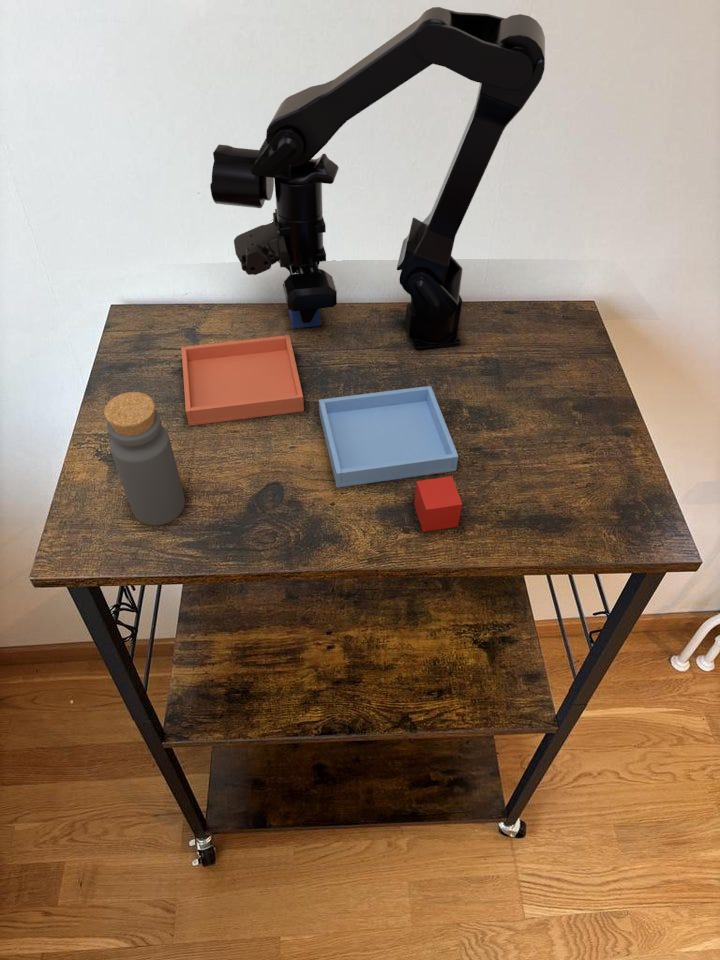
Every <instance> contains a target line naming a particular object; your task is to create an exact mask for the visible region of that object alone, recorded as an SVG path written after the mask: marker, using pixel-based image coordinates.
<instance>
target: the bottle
mask: <svg viewBox="0 0 720 960" xmlns="http://www.w3.org/2000/svg"><path fill="white" fill-rule="evenodd" d="M103 411H104V412H103V413H104V417H105V419H106V420H107V423H106V429H107V432H108V435H109V437H110V440H109V449H110V453H111V455H112V460H113V462H114V465H115V468H116V470H117V473H118V476H119V479H120V482H121V484H122V485H121V486H122V487H123V490H124V493H125V496H126V499H127V501H128V504H129V507H130V510H131V512H132V515H133V516H134V518H135V519H136V520H137V521H138V522H140V523H141V524H144V525H147V526H154V527H156V526H163V525H166V524H169V523H171V522H172V521H175V520H176V519H177V518H178V517H179V516H180V515H181V514H182V512H183V510H184V509H185V505H186V498H185V493H184V489H183V485H182V481H181V477H180V473H179V470H178V465H177V462H176V457H175V454H174V450H173V446H172V442H171V439H170V437H169V433H168V430H167V428H166V427H164V426H163V425H162V418H161V415H160V413H159V412H158V410H157V409H156V405H155V402H154V400H153V399H152V397H150V395H148V394H146V393H144V392H139V391H128V392H124V393H120V394H118V395H116V396H114V397H112V398H111V399H110V400H109V401H108V402H107V403H106V405H105V407H104V410H103Z"/></svg>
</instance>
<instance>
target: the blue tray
mask: <svg viewBox="0 0 720 960" xmlns="http://www.w3.org/2000/svg"><path fill="white" fill-rule="evenodd" d="M318 412H319V413H318V414H319V419H320V424H321V427H322V431H323V435H324V436H323V437H324V440H325V444H326V448H327V452H328V458H329V460H330V465H331V470H332V473H333V477H334V482H335V487H336V488H344V487H351V486H359V485H366V484H372V483H381V482H388V481H395V480H401V479H409V478H415V477H422V476H429V475H436V474H442V473H443V474H444V473H450V472H456V471H457V467H458V462H459V454H458V452H457V449H456V447H455V444H454V441H453V438H452V436H451V433H450V431H449V429H448V426H447V423H446V421H445V418H444V416H443V413H442V411H441V408H440V405H439V402H438V400H437V398H436V395H435V392H434V389H433V388H432V385H426V386H417V387H410V388H402V389H395V390H394V389H393V390H385V391H377V392H370V393H369V392H368V393H361V394H353V395H345V396H338V397H330V398H329V397H328V398H322V399H318Z"/></svg>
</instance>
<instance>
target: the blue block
mask: <svg viewBox="0 0 720 960" xmlns="http://www.w3.org/2000/svg"><path fill="white" fill-rule="evenodd" d="M288 315H289V319H290V325H291V328H292V329H303V328H311V327H320V326H321V325H322V322H321V321H322V320H321V319H322V318H321V317H322V316H321V309H318V310H317V312H316V313H315V315H314V317H313V319H312V321H311V322H309V323H303V321H302V318H301V314H300V311H291V310H289V309H288Z"/></svg>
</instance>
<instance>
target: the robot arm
mask: <svg viewBox="0 0 720 960" xmlns="http://www.w3.org/2000/svg"><path fill="white" fill-rule="evenodd" d="M545 37H546V36H545V34H544V31H543V27H542V26H541V25H540V23H539V22H538V21H537V20H536V19H535V18H533V17H532V16H530V15H526V14H522V13H519V14H512V15H509V16H508V17H501V16H497V15H494V14H490V13H481V12H465V11H464V12H462V11H455V10H452V9H447V8H444V7H441V6H434V7H430V8H429V9H426V10H425V11H423V13H422V14H421V16H420V17H419V18H418V19H417V20H415V21H414V22H413V23H411V24H410V25H408V26H406V27H405V28H404V29H402V30H401V31H400V32H398V33H397V34H396V35H395V36H393V37H391V38H390V39H389V40H387V41H385V43H383V44H381V45H380V46H378V47H377V48H376V49H374V50H373V51H372V52H371V53H369V54H368V55H366V56H365V57H363V58H362V59H361V60H359V61H358V62H356V63H355V64H354V65H352V66H351V67H349V68H348V69H346V70H345V71H343V73H341V74H340V75H338V76H337V77H335V78H333V79H332V80H330V81H327V82H325V83H321V84H316V85H312V86H309V87H307V88H305V89H302V90H300V91H298V92H295V93H294V94H291V95H289V96H288V97H286V98H285V99H284V100H283V101H282V102H281V103H280V104H279V106H278V108H277V110H276V112H275V114H274V115H273V117H272V119H271V121H270V122H269V124H268V125H267V128H266V133H265V138H264V141H263V143H262V144H261V146H260V148H259V149H251V148H243V147H234V146H231V145H228V144H218V145H217V146H216V148H214V151H213V152H212V156H213V163H212V164H213V165H212V169H211V170H212V171H211V182H210V184H209V185H210V194H211V199H212V200H213V202H214V203H215V204H216V205H226V206H233V207H234V206H235V207H243V208H244V207H245V208H253V209H254V208H255V209H262V208H263V206H264V205H265V201H271V199H272V198H273V194H275V206H276V207H275V209H274V212H272V220H273V222H272V223H270V222H269V223H267V224H262V225H258V226H256V227H254V228H252V229H249V230H247V231H244V232H242V233H239V234H238V235H237V236H235V238H234V239H233V245H234V251H235V255H236V257H237V259H238V261H239V262H240V267H241V270H242V271H243V272H245V274H247V275H248V276H250V275H253V276H257V275H259V274H261V273H264V272H266V271H269V270H271V268H272V265H274V264H276V263H279V267H280V268H285V269H286V270H287V271H288V272H289V275H288V276H287V277H286V279H284V280H283V283H282V287H283V291H284V297H285V301H286V307H287V310H288V311H289V310H291V311H300V314H301V318H302V321H303V323H309V322H311V321H312V319H313V317H314V315H315V313H316V312H317V310H318V309H320V310H321V309H331V308H334V307H335V306H337V304H338V300H337V299H338V297H337V295H338V294H337V293H338V291H337V288H336V285H335V281H334V277H333V276H332V275H331V274H329V273H328V272H327V271H325V270H324V269H322V268H319V266H320V263H321V262H327V252H326V249H325V246H324V233H326V222H325V219H324V216H323V213H324V212H323V184H325V185H326V184H327V185H332V184H334V182H335V179H336V176H337V174H338V171H339V169H340V168H339V166H338V164H336V163H335V162H334V161H333V160H331V159H330V158H329V157H328V155H327V154H326V153H322V154H321V155H320V156H319V157H317V158H314V157H315V156H316V155H317V154H318V153H319V152H320V151H321V150H322V149H323V148H324V147H325V146H326V145H327V144H328V142H330V140H331V139H332V138H333V137H334V136H335V135H336V134H337V132H338V131H339V130H340V129H341V128H342V127H343V126H344V125H345V124H346V123H347V122H348V121H349V120H351V119H352V118H354V117H355V116H357V115H358V114H360V113H361V112H363V111H365V110H366V109H367V108H369V107H370V106H372V105H373V104H375V103H376V102H378V101H379V100H381V99H382V98H384V97H386V96H387V95H388V94H390V93H391V92H393V91H395V90H397V88H399V87H400V86H402V85H403V84H405V83H406V82H408V81H409V80H411V79H412V78H414V77H416V76H417V75H418V74H420V73H422V71H424V70H426V69H427V68H429V67H430V66H432V65H435V66H440V67H444V68H446V69H448V70H450V71H451V72H454V73H455V74H458V75H460V76H462V77H463V78H466V79H467V80H469V81H473V82H475V83H479V86H478V91H477V94H476V99H475V104H474V107H473V109H472V111H471V114H470V117H469V119H468V120H467V124H466V126H465V129H464V131H463V134H462V136H461V139H460V141H459V143H458V144H457V148H456V150H455V152H454V155H453V157H452V160H451V162H450V164H449V167H448V170H447V172H446V174H445V176H444V179H443V182H442V184H441V187H440V189H439V192H438V194H437V196H436V200H434V204H433V206H432V208H431V210H430V212H429V214H428V215H427V216H426V217H425V219H424V220H423V221H421V220H419V219H418V218H416V217H412V220H411V224H410V229H409V232H408V235H407V236H406V237H404V239H403V240H402V243H401V248H400V252H399V256H398V261H397V265H396V271H400V273H399V279H398V280H399V284H400V285H401V287H402V289H403V290H404V291H405V293H407V294H408V295H410V302H407V303H406V306H405V307H406V308H405V319H404V329H405V332H406V334H407V336H408V338H409V339H410V340H411V342H412V345H413V347H414V349H415V350H418V351H419V350H420V351H421V350H422V351H423V350H429V349H430V350H431V349H438V348H447V347H455V346H460V345H461V343H462V339H461V337H460V336H459V333H458V332H459V326H460V319H461V312H462V307H463V299H462V296H461V294H460V291H461V284H462V276H463V267H462V265H460V264H459V263H458V261H457V260H456V259H455V258H454V257H453V256H452V253H453V249H454V244H455V239H456V236H457V234H458V231H459V229H460V227H461V225H462V222H463V220H464V219H465V216H466V213H467V212H468V210H469V208H470V205H471V203H472V201H473V199H474V196H475V194H476V192H477V190H478V187H479V185H480V183H481V181H482V179H483V176H484V174H485V172H486V170H487V168H488V165H489V163H490V161H491V159H492V157H493V154H494V152H495V151H496V148H497V145H498V144H499V141H500V139H501V137H502V135H503V132H504V131H505V129H506V127H507V126H508V125H509V124H510V123H511V122H512V120H513V119H514V118H515V117H516V116H517V115H518V114H519V113H520V111H522V109H523V108H524V106H525V105H526V104H527V102H528V101H529V99H530V98H531V96H532V95H533V93H534V91H535V90H536V89H537V87H538V86H539V84H540V82H541V80H542V79H543V76H544V73H545V67H546V38H545ZM274 192H275V193H274Z"/></svg>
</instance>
